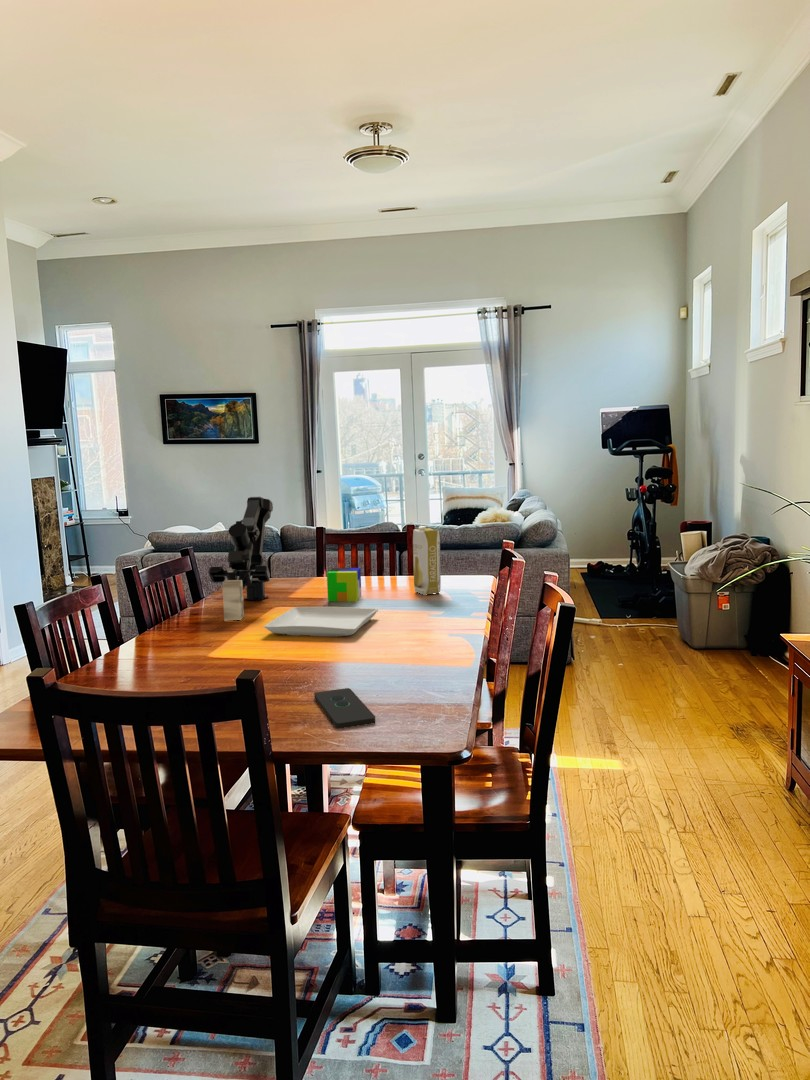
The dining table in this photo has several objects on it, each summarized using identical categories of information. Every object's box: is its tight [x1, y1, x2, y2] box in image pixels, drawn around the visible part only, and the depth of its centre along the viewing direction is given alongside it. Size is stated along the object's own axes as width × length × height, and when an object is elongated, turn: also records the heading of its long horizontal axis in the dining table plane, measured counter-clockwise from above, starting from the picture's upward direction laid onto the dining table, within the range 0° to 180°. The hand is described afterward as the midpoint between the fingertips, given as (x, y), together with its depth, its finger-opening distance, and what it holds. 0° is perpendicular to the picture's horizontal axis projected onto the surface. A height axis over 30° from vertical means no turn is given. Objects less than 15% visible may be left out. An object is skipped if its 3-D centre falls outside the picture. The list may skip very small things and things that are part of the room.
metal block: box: [221, 579, 245, 622], centre depth 245 cm, size 5×5×12 cm
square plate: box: [263, 606, 379, 637], centre depth 232 cm, size 27×27×4 cm
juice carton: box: [412, 525, 442, 596], centre depth 277 cm, size 9×8×24 cm
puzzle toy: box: [326, 567, 362, 602], centre depth 273 cm, size 10×10×10 cm
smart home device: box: [314, 687, 376, 729], centre depth 161 cm, size 8×2×20 cm
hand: (236, 595), depth 248 cm, fingers closed
